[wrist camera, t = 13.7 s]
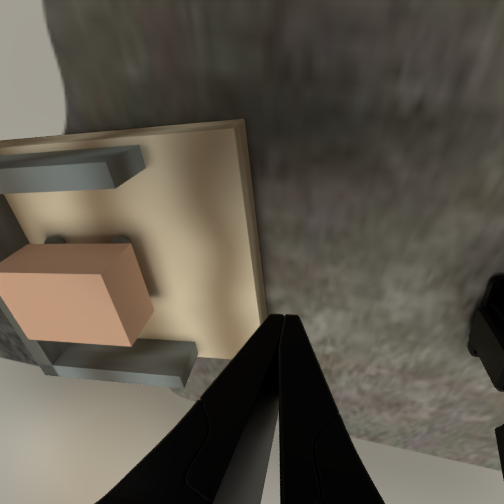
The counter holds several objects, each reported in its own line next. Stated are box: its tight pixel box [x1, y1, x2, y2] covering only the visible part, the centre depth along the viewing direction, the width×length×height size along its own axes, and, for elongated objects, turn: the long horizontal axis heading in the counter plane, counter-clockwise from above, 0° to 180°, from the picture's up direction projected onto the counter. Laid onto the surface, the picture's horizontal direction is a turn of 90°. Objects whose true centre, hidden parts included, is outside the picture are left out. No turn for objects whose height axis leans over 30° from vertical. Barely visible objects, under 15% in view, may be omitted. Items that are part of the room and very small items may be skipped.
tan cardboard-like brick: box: [0, 236, 154, 347], centre depth 19 cm, size 7×5×4 cm
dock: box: [0, 119, 267, 388], centre depth 21 cm, size 16×16×6 cm
